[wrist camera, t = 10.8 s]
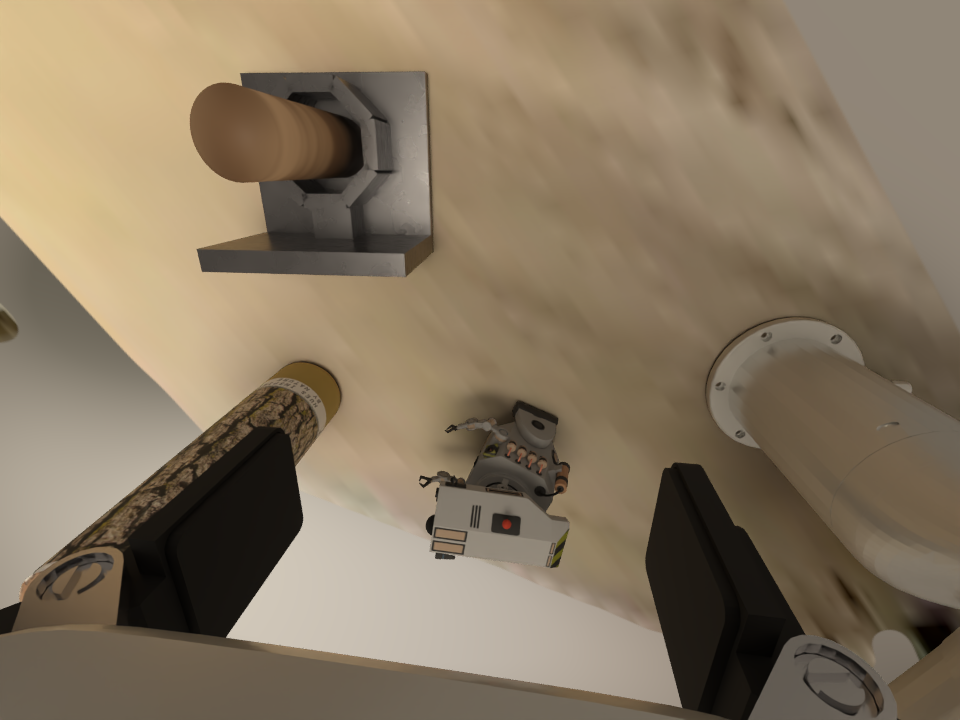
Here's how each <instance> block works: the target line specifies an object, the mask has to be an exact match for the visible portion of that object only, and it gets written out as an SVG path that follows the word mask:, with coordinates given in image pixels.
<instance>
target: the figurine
mask: <svg viewBox="0 0 960 720" xmlns="http://www.w3.org/2000/svg"><path fill="white" fill-rule="evenodd" d="M512 412H513V417H515V420H516V422H512V423H507V424H503V425H499V426H497V425H496V424H497V422H496V420H495V419H494V418H489V419H488V421H487V420H478V419H477V418H471V419H468V420H467V421H466V422H465V423H463V424H458V426H454V425H451V426H449V427H448V428H447V429H449V428H451V427H452V429H450V430H448V431H446V430H447V429H446V430H445V431H446V432H447V433H449V432H451V431H452V430H455V431H456V430H458V429H464V428H466V429H467V430H475V429H477V428H483V429H484V430H485V431H490V430H492V432H491V433H490V434H489V436H488V438H487V439H486V441H485V443H484V445H483V447H482V449H481V451H480V452H481V453H480V455H479V456H478V457H477V459H476V461H475V463H474V467H473V469H472V470H471V472H470V475H469V477H468V479H467V481H466V483H465V480H464V479H463V478H459V479H457V478H456V477H455V476H454V477H453V476H450V474H449V473H448V472H445V471H439V472H437V476H434V477H431V478H428V477H424V476H420V480H421V479H425V480H427V482H426V483H425V484H424V485H423V484H421V483H419V484H420V485H421V486H422V487H423V488H424V487H426V486H427V485H428V484H430V483H431V482H439V483H440V486H439V488H437V489H436V496H435V497H437V498H436V501H437V506H436V512H435V515H432V516H430V517H429V518H428V520H427V522H426V530H427V532H428V533H429V534H430V535H432V538H431V545H430V552H436V555H435V558H436V559H455V556H453V555H458V556H466V557H473V558H480V559H488V560H495V561H502V562H510V563H517V564H524V565H532V566H539V567H547V568H554V567H558V566H559V562H560V559H561V555H562V552H563V548H564V545H565V541H566V538H567V534H568V531H569V521H568V520H567V519H566V517H559V516H552V515H548V514H547V513H546V510H547V509H548V507H549V506H550V504H551V503H552V500H553V496H554V495H557V494H558V493H559V494H563V493H565V492H566V489H567V485H568V473H569V471H570V466H569V464H568V463H566V462H560V463H559V459H558V457H557V454H556V451H555V448H554V445H553V442H552V439H553V438H554V436H555V434H556V425H557V424H558V418H556V417H553V416H552V415H550V414H546V413H545V412H543V411H539V410H537V409H535V408H533V407H532V406H528V405H525V404H524V403H523V402H518V401H517V403H516V405H515V407H514V408H513V410H512ZM420 480H419V481H420ZM554 488H555V491H556V493H554ZM448 554H451V555H448Z"/></svg>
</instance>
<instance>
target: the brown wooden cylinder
mask: <svg viewBox="0 0 960 720" xmlns="http://www.w3.org/2000/svg"><path fill="white" fill-rule="evenodd" d="M190 130H191V135H192V139H193V142H194V145H195V147H196V149H197V151H198V153H199V155H200V156H201V158H202V159H203V161H204V162H205V163H206V164H207V165H208V166H209V167H210V168H211V169H212V170H213V171H214V172H215V173H217V174H218V175H220V176H221V177H223V178H225V179H228V180H231V181H234V182H242V183H244V182H265V181H286V180H307V179H328V178H347V177H351V176H353V175H355V174H357V173H358V172H359V171H360V170H361V169H362V167H363V166H364V160H363V149H362V137H361V129H360V127H359V126H358V125H357V124H356V123H355V122H354V121H352V120H351V119H349V118H347V117H344V116H341V115H338V114H334V113H331V112H327V111H324V110H321V109H317V108H314V107H310V106H307V105H304V104H300V103H297V102H294V101H290V100H287V99H283V98H280V97H277V96H273V95H270V94H266V93H263V92H260V91H256V90H253V89H249V88H246V87H243V86H239V85H236V84H232V83H217V84H213V85H211V86H209V87H207V88H206V89H204V90H203V91H202V92H201V93H200V94H199V95H198V96H197V98H196V100H195V101H194V103H193V106H192V109H191V114H190Z"/></svg>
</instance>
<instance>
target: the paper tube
mask: <svg viewBox="0 0 960 720" xmlns="http://www.w3.org/2000/svg"><path fill="white" fill-rule="evenodd" d="M339 405H340V392H339V389H338V386H337V384H336V382H335V380H334V379H333V378H332V377H331V375H330V374H329V373H327V372H326V371H325V370H323V369H322V368H320V367H318V366H316V365H313V364H309V363H303V362H299V363H293V364H290V365H287V366H285V367H284V368H282V369H281V370H280V371H278V372H277V373H276V374H275V375H274V376H272V377H271V378H270V379H269V380H268V381H266V382H265V383H264V384H262V385H261V386H260V387H259V388H257V389H256V390H255V391H254V392H252V393H251V394H250V395H249V396H248V397H246V398H245V399H244V400H243V401H241V402H240V403H239V404H238V405H237V406H235V407H234V408H233V409H232V410H231V411H229V412H228V413H227V414H226V415H224V416H223V417H222V418H221V419H220V420H218V421H217V422H216V423H215V424H213V425H212V426H211V427H210V428H209V429H207V430H206V431H205V432H204V433H203V434H201V435H200V436H199V437H198V438H196V439H195V440H194V441H193V442H192V443H190V444H189V445H188V446H187V447H185V448H184V449H183V450H182V451H181V452H179V453H178V454H177V455H176V456H175V457H173V458H172V459H171V460H170V461H169V462H167V463H166V464H165V465H164V466H162V467H161V468H160V469H159V470H157V471H156V472H155V473H154V474H153V475H151V476H150V477H149V478H148V479H147V480H146V481H144V482H143V483H142V484H141V485H139V486H138V487H137V488H136V489H135V490H133V491H132V492H131V493H130V494H128V495H127V496H126V497H125V498H123V499H122V500H121V501H120V502H119V503H117V504H116V505H115V506H114V507H113V508H111V509H110V510H109V511H108V512H106V513H105V514H104V515H103V516H101V517H100V518H99V519H98V520H97V521H95V522H94V523H93V524H92V525H91V526H89V527H88V528H87V529H86V530H85V531H83V532H82V533H81V534H80V535H78V536H77V537H76V538H75V539H74V540H72V541H71V542H70V543H69V544H67V546H65V547H64V548H63V549H61V550H60V551H59V552H58V553H56V554H55V555H54V556H53V557H52V558H50V559H49V560H48V561H47V562H45V563H44V564H43V565H42V566H41V567H39V568H38V569H37V570H36V571H35V572H34V573H33V575H31V576H30V577H28V578H27V579H26V580H25V581H24V583H23V584H22V586H21V588H20V593H19V599H20V602H22V600H23V597H24V594H25V591H26V590H27V588H28V586H29V585H30V583H31V582H32V581H33V580H34V579H35V578H36V577H37V576H38V575H39V574H40V573H41V572H42V571H44V570H45V569H47V568H48V567H49V566H51V565H52V564H54V563H56V562H57V561H59V560H61V559H63V558H65V557H67V556H69V555H72V554H74V553H77V552H80V551H82V550H86V549H91V548H95V547H112V548H117V549H118V550H119V551H121V552H122V553H123V552H124V551H125V550H126V549H127V548H128V547H129V546H130V544H129V541H128V537H129V536H130V535H131V534H133V533H134V532H135V531H136V530H137V529H138V528H140V527H141V526H142V525H143V524H144V523H145V522H146V521H148V520H149V519H150V518H151V517H152V516H153V515H155V514H156V513H157V512H158V511H159V510H160V509H162V508H163V507H164V506H165V505H166V504H167V503H169V502H170V501H171V500H172V499H173V498H174V497H176V496H177V495H178V494H179V493H180V492H181V491H183V490H184V489H185V488H186V487H187V486H188V485H189V484H191V483H192V482H193V481H194V480H195V479H196V478H198V477H199V476H200V475H201V474H202V473H203V472H205V471H206V470H207V469H208V468H209V467H210V466H212V465H213V464H214V463H215V462H216V461H217V460H219V459H220V458H221V457H222V456H223V455H224V454H226V453H227V452H228V451H229V450H230V449H231V448H232V447H234V446H235V445H236V444H237V443H238V442H239V441H241V440H242V439H243V438H244V437H245V436H246V435H248V434H249V433H250V432H251V431H252V430H253V429H255V428H256V427H258V426H266V427H278V428H282V429H283V430H284V432H285V434H288V435H289V436H290V439H291V445H292V451H293V457H294V463H295V466H296V465H297V464H298V462H299V461H300V460H301V458H302V457H303V456H304V454H305V453H306V452H307V451H308V449H309V448H310V447H311V445H312V444H313V443H314V441H315V440H316V439H317V438H318V436H319V435H320V434H321V432H322V431H323V429H324V428H325V427H326V425H327V424H328V423H329V421H330V420H331V419H332V418H333V416H334V415H335V414H336V412H337V410H338V408H339Z"/></svg>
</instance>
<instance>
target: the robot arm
mask: <svg viewBox="0 0 960 720" xmlns="http://www.w3.org/2000/svg"><path fill="white" fill-rule="evenodd" d="M762 334H763V335H762ZM717 383H718V384H717ZM911 393H912V387H911V384H910V383H909V382H907V381H893V380H887V379H885V378H883V377H882V376H880V375H878V374H876V373H875V372H873V371H871V370H869V369H868V368H866V367H865V363H864V359H863V356H862V352H861V351H860V349H859V347H858V346H857V344H856V343H855V341H854V340H853V339H852V338H851V337H850V336H849V335H847V334H846V333H845V332H843V331H842V330H840V329H838V328H837V327H835V326H833V325H830V324H828V323H826V322H824V321H821V320H816V319H812V318H802V317H791V318H784V319H777V320H774V321H770V322H767V323H764V324H761V325H759V326H757V327H755V328H753V329H751V330H749V331H747V332H746V333H744V334H743V335H741V336H740V337H738V338H737V339H735V340H734V341H733V342H732V343H731V344H730V345H729V346H728V347H727V348H726V349H725V350H724V351H723V352H722V354H721V355H720V356H719V358H718V359H717V360H716V362H715V364H714V366H713V368H712V370H711V372H710V374H709V378H708V382H707V387H706V400H707V406H708V409H709V411H710V414H711V416H712V418H713V419H714V421H715V422H716V424H717V425H718V426H719V427H720V429H721V430H722V431H723V432H724V433H725V434H726V435H727V436H729V437H730V438H732V439H733V440H735V441H737V442H739V443H741V444H744V445H746V446H750V447H754V448H759V449H762V450H763V451H764V452H765V454H766V455H767V456H768V457H769V458H770V459H771V461H772V462H773V463H774V464H775V465H776V466H777V468H778V469H779V470H780V471H781V472H782V473H783V475H784V476H785V477H786V478H787V479H788V480H789V482H790V483H791V484H792V485H793V486H794V487H795V489H796V490H797V491H798V492H799V493H800V494H801V496H802V497H803V498H804V499H805V500H806V501H807V503H808V504H809V505H810V506H811V507H812V508H813V510H814V511H815V512H816V513H817V514H818V515H819V517H820V518H821V519H822V520H823V521H824V522H825V524H826V525H827V526H828V527H829V528H830V529H831V531H832V532H833V533H834V534H835V535H836V536H837V538H838V539H839V540H840V541H841V543H842V544H843V545H844V546H845V547H846V548H847V549H848V551H849V552H850V553H851V554H852V555H853V556H854V557H855V558H856V559H857V560H858V561H859V562H860V563H861V564H862V565H863V566H864V567H865V568H866V569H867V570H869V571H870V572H871V573H872V574H874V575H875V576H877V577H878V578H880V579H881V580H883V581H884V582H886V583H888V584H889V585H891V586H893V587H895V588H897V589H899V590H901V591H904V592H906V593H909V594H911V595H914V596H916V597H919V598H922V599H925V600H928V601H931V602H934V603H938V604H941V605H945V606H949V607H952V608H957V609H960V421H958V420H956V419H955V418H953V417H951V416H949V415H948V414H946V413H944V412H943V411H941V410H939V409H937V408H936V407H934V406H932V405H930V404H929V403H927V402H925V401H923V400H922V399H920V398H918V397H916V396H915V395H913V394H911ZM302 523H303V513H302V506H301V500H300V494H299V488H298V482H297V475H296V469H295V463H294V457H293V451H292V445H291V439H290V436H289V435H288V434H285V432H284V430H283V429H282V428H278V427H266V426H258V427H256V428H255V429H253V430H252V431H251V432H250V433H249V434H248V435H246V436H245V437H244V438H243V439H242V440H241V441H239V442H238V443H237V444H236V445H235V446H234V447H232V448H231V449H230V450H229V451H228V452H227V453H226V454H224V455H223V456H222V457H221V458H220V459H219V460H217V461H216V462H215V463H214V464H213V465H212V466H210V467H209V468H208V469H207V470H206V471H205V472H203V473H202V474H201V475H200V476H199V477H198V478H196V479H195V480H194V481H193V482H192V483H191V484H189V485H188V486H187V487H186V488H185V489H184V490H183V491H181V492H180V493H179V494H178V495H177V496H176V497H174V498H173V499H172V500H171V501H170V502H169V503H167V504H166V505H165V506H164V507H163V508H162V509H160V510H159V511H158V512H157V513H156V514H155V515H153V516H152V517H151V518H150V519H149V520H148V521H146V522H145V523H144V524H143V525H142V526H141V527H140V528H138V529H137V530H136V531H135V532H134V533H133V534H131V535H130V536H129V537H128V541H129V544H130V546H129V547H128V548H127V549H126V550H125V551H124V552H123V553H122V552H121V551H119V550H118V549H117V548H112V547H95V548H91V549H86V550H82V551H80V552H77V553H74V554H72V555H69V556H67V557H65V558H63V559H61V560H59V561H57V562H56V563H54V564H52V565H51V566H49V567H48V568H47V569H45V570H44V571H42V572H41V573H40V574H39V575H38V576H37V577H36V578H35V579H34V580H33V581H32V582H31V583H30V585H29V586H28V588H27V590H26V591H25V594H24V597H23V600H22V602H19V603H17V604H14V605H11V606H9V607H6V608H3V609H1V610H0V720H960V627H959V628H958V629H957V630H955V631H954V632H953V633H952V634H951V635H950V636H948V637H947V638H946V639H945V640H943V642H942V644H941V645H940V646H938V647H937V648H936V649H935V650H933V651H932V652H931V653H929V654H928V655H927V656H925V657H924V658H923V659H921V660H920V661H919V662H917V663H916V664H915V665H913V666H912V667H911V668H909V669H908V670H907V671H905V672H904V673H903V674H902V675H900V676H899V677H897V678H896V679H895V680H894V681H892V682H891V683H889V684H888V685H887V684H886V683H885V681H884V680H883V679H882V677H881V676H880V675H879V674H878V673H877V672H876V671H875V670H874V669H873V668H872V667H871V666H870V665H869V664H868V663H867V662H866V661H865V660H863V659H862V658H860V657H859V656H858V655H856V654H855V653H853V652H852V651H850V650H849V649H847V648H845V647H843V646H841V645H839V644H837V643H835V642H833V641H831V640H828V639H825V638H821V637H818V636H813V635H805V633H804V631H803V629H802V628H801V626H800V624H799V622H798V621H797V619H796V617H795V615H794V614H793V612H792V610H791V609H790V607H789V605H788V603H787V602H786V600H785V598H784V596H783V595H782V593H781V591H780V589H779V588H778V586H777V584H776V582H775V581H774V579H773V577H772V576H771V574H770V572H769V570H768V569H767V567H766V565H765V563H764V562H763V560H762V558H761V556H760V555H759V553H758V551H757V550H756V548H755V546H754V544H753V543H752V541H751V539H750V537H749V536H748V534H747V533H746V531H745V530H744V529H743V528H741V527H739V526H735V525H734V523H733V522H732V520H731V518H730V516H729V514H728V513H727V511H726V509H725V507H724V505H723V504H722V502H721V500H720V498H719V496H718V495H717V493H716V491H715V489H714V487H713V485H712V484H711V482H710V480H709V478H708V476H707V475H706V473H705V471H704V469H703V468H702V466H701V465H698V464H687V463H676V462H675V463H673V465H672V467H671V468H665V469H664V470H663V473H662V478H661V483H660V488H659V493H658V498H657V503H656V508H655V512H654V517H653V522H652V527H651V532H650V537H649V542H648V547H647V551H646V560H645V561H646V571H647V575H648V579H649V583H650V586H651V590H652V594H653V598H654V602H655V605H656V609H657V613H658V617H659V621H660V624H661V628H662V632H663V636H664V639H665V643H666V647H667V651H668V655H669V659H670V662H671V666H672V670H673V674H674V678H675V681H676V685H677V689H678V693H679V697H680V700H681V704H682V708H680V707H675V706H671V705H665V704H659V703H653V702H647V701H641V700H635V699H630V698H624V697H618V696H612V695H607V694H601V693H595V692H589V691H582V690H576V689H570V688H563V687H557V686H550V685H544V684H537V683H530V682H524V681H518V680H511V679H504V678H498V677H491V676H485V675H478V674H472V673H465V672H459V671H452V670H445V669H438V668H432V667H425V666H417V665H411V664H405V663H398V662H391V661H384V660H377V659H370V658H364V657H357V656H349V655H343V654H336V653H329V652H322V651H315V650H308V649H301V648H294V647H286V646H280V645H273V644H265V643H258V642H251V641H243V640H237V639H230V638H226V636H227V635H228V633H229V632H230V630H231V629H232V628H233V626H234V625H235V623H236V622H237V620H238V619H239V618H240V616H241V615H242V613H243V612H244V610H245V609H246V608H247V606H248V605H249V603H250V602H251V600H252V599H253V597H254V596H255V595H256V593H257V592H258V590H259V589H260V587H261V586H262V584H263V583H264V581H265V580H266V579H267V577H268V576H269V574H270V573H271V572H272V570H273V569H274V567H275V566H276V564H277V563H278V561H279V560H280V559H281V557H282V556H283V554H284V553H285V551H286V550H287V548H288V547H289V546H290V544H291V542H292V541H293V540H294V538H295V537H296V535H297V534H298V533H299V531H300V529H301V526H302Z"/></svg>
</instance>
